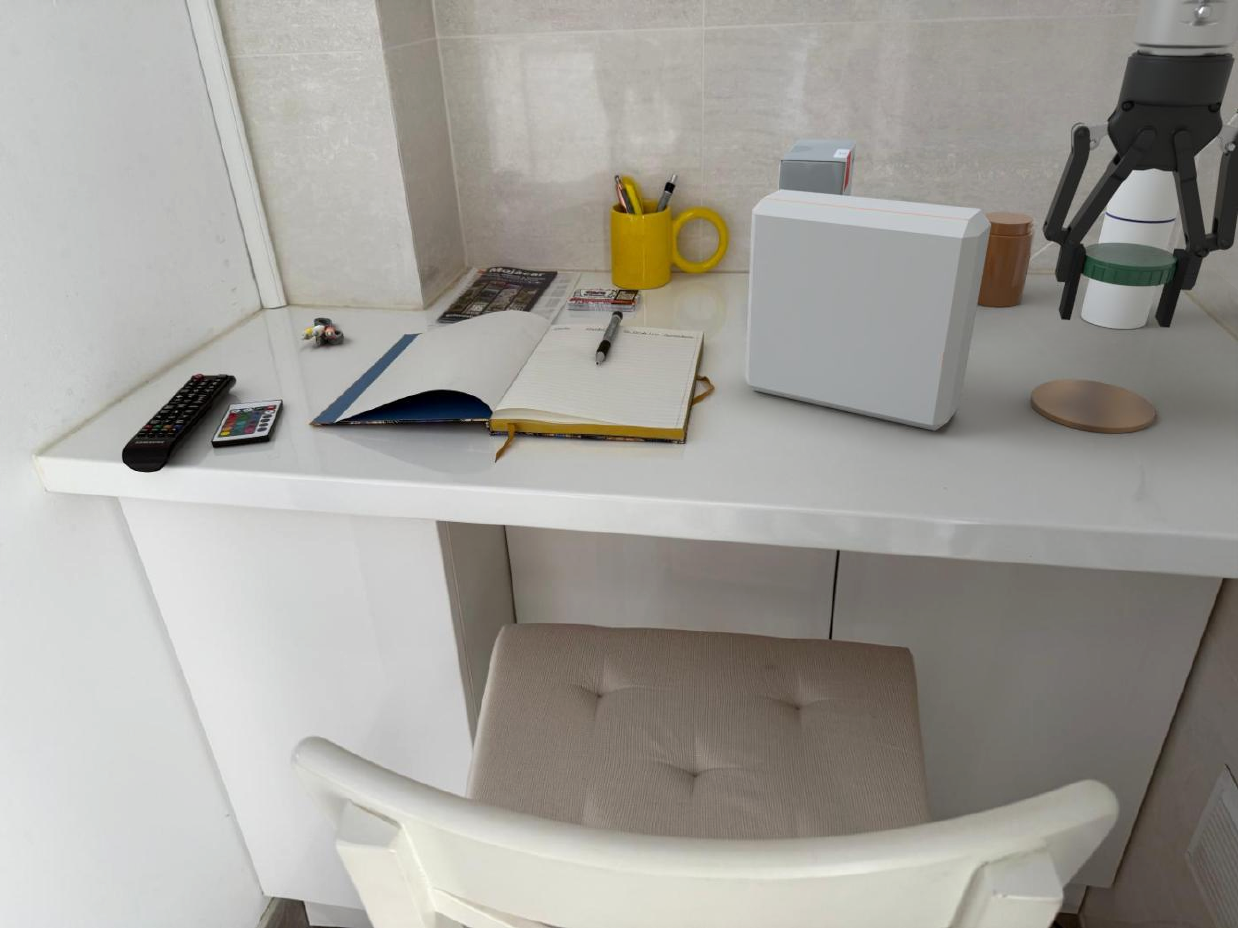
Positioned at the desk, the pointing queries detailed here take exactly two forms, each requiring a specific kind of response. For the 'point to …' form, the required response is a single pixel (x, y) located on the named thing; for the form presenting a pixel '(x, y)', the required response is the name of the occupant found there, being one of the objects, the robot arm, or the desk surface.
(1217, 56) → the robot arm
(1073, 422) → the coaster
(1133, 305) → the cylindrical container
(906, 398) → the bevelled white case
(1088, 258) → the jar lid
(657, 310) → the desk surface
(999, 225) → the brown lidded jar
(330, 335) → the composite cable
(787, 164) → the hard drive box
